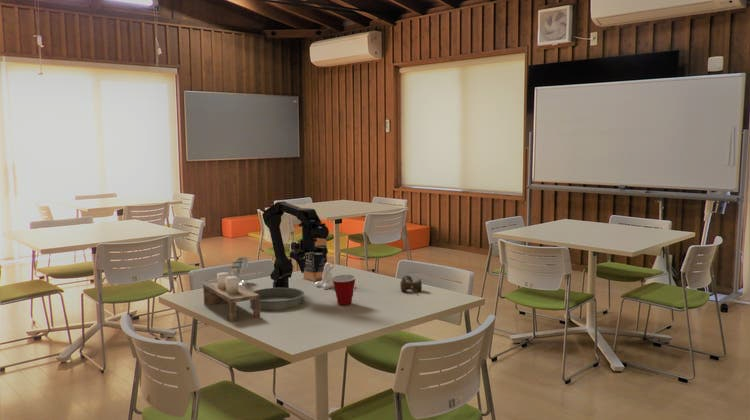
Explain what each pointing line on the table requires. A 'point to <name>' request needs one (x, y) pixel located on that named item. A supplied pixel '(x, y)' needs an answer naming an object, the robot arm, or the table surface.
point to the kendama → (410, 284)
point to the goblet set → (239, 269)
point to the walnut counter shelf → (231, 298)
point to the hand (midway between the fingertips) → (309, 271)
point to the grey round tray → (278, 298)
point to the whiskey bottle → (310, 264)
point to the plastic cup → (344, 288)
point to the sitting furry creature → (326, 278)
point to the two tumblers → (227, 282)
